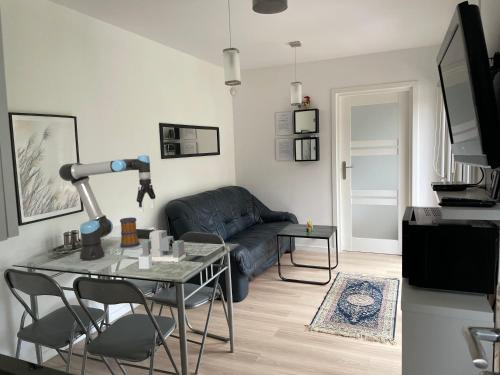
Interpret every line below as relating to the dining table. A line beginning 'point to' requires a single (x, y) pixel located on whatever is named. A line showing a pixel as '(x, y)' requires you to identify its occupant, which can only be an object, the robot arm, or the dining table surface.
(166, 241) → the circuit breaker
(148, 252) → the rail plate
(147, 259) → the block
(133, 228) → the mug
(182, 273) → the dining table surface
